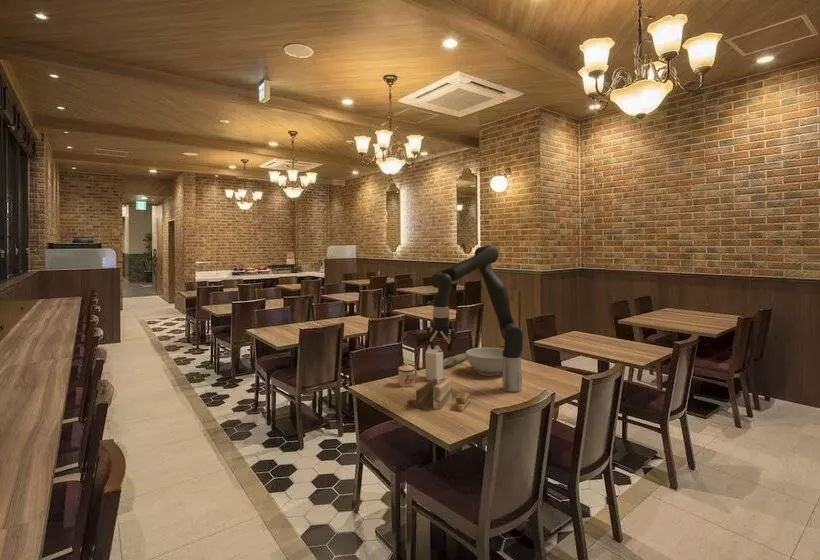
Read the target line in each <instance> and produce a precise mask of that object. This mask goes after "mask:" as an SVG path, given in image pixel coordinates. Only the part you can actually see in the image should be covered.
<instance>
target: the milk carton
mask: <svg viewBox="0 0 820 560" xmlns="http://www.w3.org/2000/svg"><path fill="white" fill-rule="evenodd" d="M424 355H425V380H428V381H432V380H433V379H437V382H438V381H442V380H443V379H444V368H443V360H444V351H443V350H442V349H441V347H440V346H439V345H435V349H433V350H432V349H431V348H430V344H428V347H427V349H426V351H425V354H424Z"/></svg>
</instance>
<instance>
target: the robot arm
mask: <svg viewBox="0 0 820 560" xmlns="http://www.w3.org/2000/svg"><path fill="white" fill-rule="evenodd" d="M499 256H500V253H499V249H498V248H497V247H496V246H495V245H491V244H488V245H483V246H480V247H477V248H476V249H475V250H474V256H471V257H469V258H467V259H463V260H461V261H459V262H457V263H455V264H454V265H451V266H450V267H448V268H446V269H441V270H439V271H436V272H434V274H432V275H431V276H430V280H429V282H430V285H431V286H432V287H433V288H435V289H436V288H437V289H438V291H437V292H436V293H435V294H434V295H433V305H432V306H433V308H432V327H431V326H428V327H427V328H426V338H425V339H426V340H427V341H429V342H430V344H429V345H430V348H431V349H432V350H433V349H435V346H436V345H435V339H439V338H441V339H444V340H445V341H446V343H447V352H451V351H452V350H453V343H456V341H457V336H456V335H457V334H456V329H455V328H453V329H450V309H449V300H450V299H449V297H450V294H451V290H452V285H453V282H456V281H458V280H460V279H462V278H464V277H466V276H467V275H468V274H471V273H472V272H474V271H476V270H477V269H478V270H479V271H480V274H481V276H482V278H483V282H484V284H485V287H486V291H487V293H488V296H489V300H490V302H491V306H492V308H493V311H494V313H495V315H496V317H497V321H498V325H499V330H500V331H499V332H500V334H501V337H502V339H504V345H503V346H504V348H503V349H504V350H503V371H502V385H501V386H502V390H503V391H505V392H509V393H510V392H511V393H515V392H516V393H517V392H518V393H519V392H521V390H522V389H523V370H522V352H523V345H524V344H523V341H524V336H523V335H524V334H523V330H522V329H521V328H520V327H519V326H517V325H516V323H515V321H514V318H513V315H512V312H511V303H510V302H511V300H510V297H509V292H508V291H507V287H506V284H504V282H503V281H502V279H500V278H499V276H498V275H497V274H496V273H495V271H494V269H493V266H492V264H494V263H495V262H497V261H498V259H499ZM432 332H433V334H432ZM449 334H450V335H449Z"/></svg>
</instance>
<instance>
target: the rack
mask: <svg viewBox="0 0 820 560" xmlns="http://www.w3.org/2000/svg"><path fill="white" fill-rule="evenodd" d="M436 384H438V381H437V379H433V380H432V381H431V380H429V381H428V382H427V383H426V384H424V385H423V386H421V387H420V388H418V389H417V390H416V391H415V399H410V398H409V399H408V400H407V401H406V403H407V405H406V407H412V408H416V409H418V410H424V411H425V410H427V409H428V408H429V407H431V406H433V386H435V385H436Z"/></svg>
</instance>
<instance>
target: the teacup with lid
mask: <svg viewBox="0 0 820 560" xmlns="http://www.w3.org/2000/svg"><path fill="white" fill-rule="evenodd" d="M397 371H398V386H399V387H403V388H410V386H411V387H413V385H414V386H415V384H416V377H417V376H418V371H417V369H416V368H415V366H413V365H410V364H409V362H404V364H403V365H401V366H399V367H398V368H397Z"/></svg>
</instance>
